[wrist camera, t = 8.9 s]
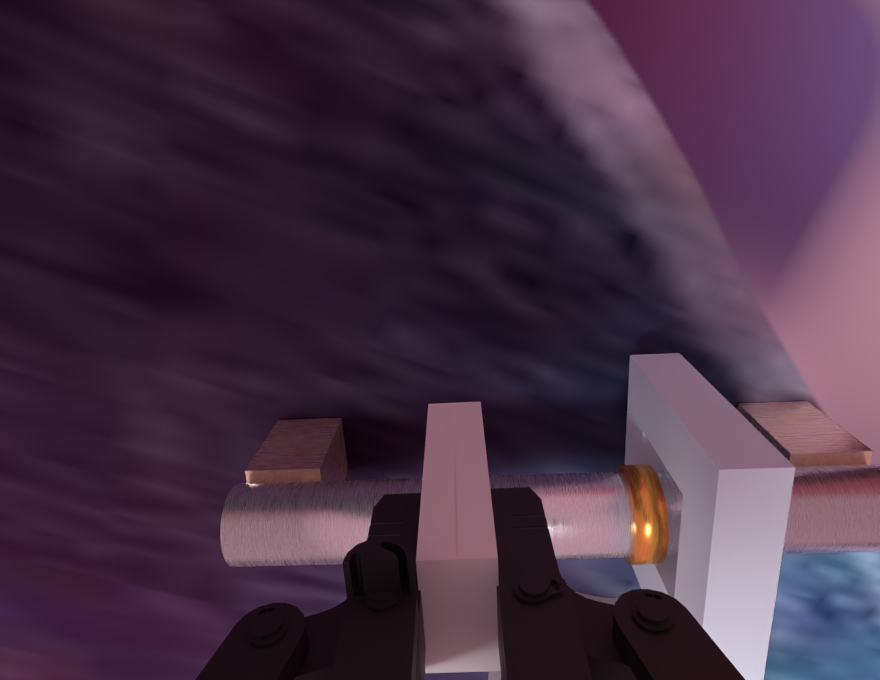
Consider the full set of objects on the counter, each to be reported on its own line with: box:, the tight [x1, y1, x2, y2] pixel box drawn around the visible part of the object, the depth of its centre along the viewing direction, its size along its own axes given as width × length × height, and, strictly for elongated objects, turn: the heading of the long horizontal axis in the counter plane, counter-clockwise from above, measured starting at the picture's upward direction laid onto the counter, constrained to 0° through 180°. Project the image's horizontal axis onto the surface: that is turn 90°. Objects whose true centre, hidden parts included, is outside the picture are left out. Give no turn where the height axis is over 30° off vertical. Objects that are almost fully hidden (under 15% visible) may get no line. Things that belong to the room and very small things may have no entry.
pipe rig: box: [220, 401, 880, 567], centre depth 24 cm, size 24×4×8 cm, turn 93°
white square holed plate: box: [625, 353, 796, 680], centre depth 22 cm, size 2×9×9 cm, turn 3°
